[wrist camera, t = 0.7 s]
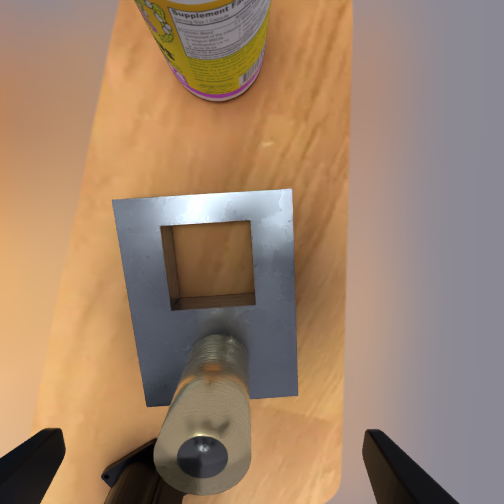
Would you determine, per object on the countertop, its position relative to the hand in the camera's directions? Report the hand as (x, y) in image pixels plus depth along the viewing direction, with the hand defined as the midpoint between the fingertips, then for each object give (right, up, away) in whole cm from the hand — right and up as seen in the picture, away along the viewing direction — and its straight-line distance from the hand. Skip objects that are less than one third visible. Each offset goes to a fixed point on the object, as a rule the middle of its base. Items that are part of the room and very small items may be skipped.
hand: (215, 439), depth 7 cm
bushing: (-1, -3, +11) cm, 12 cm away
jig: (-2, +2, +13) cm, 13 cm away
